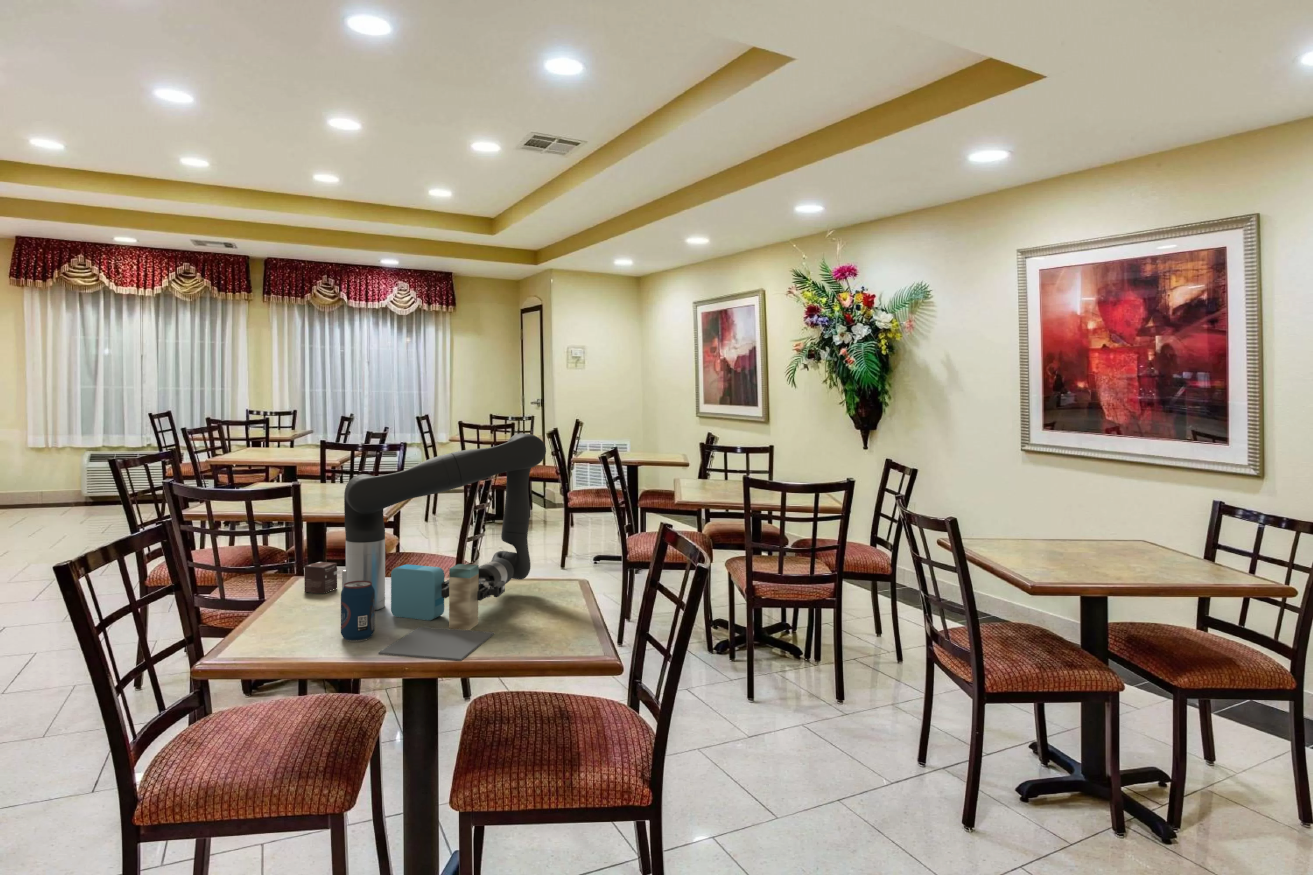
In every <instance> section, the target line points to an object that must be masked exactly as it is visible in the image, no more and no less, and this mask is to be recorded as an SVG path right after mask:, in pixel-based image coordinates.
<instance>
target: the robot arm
mask: <svg viewBox="0 0 1313 875" xmlns="http://www.w3.org/2000/svg"><path fill="white" fill-rule="evenodd" d="M545 444H546V443H545V442H544V441H543V440H542V438H540V437H539V436H538V435H537V436H536V435H534V434H532V433H521V432H520V433H515V434H514V435H512V436H511V437H510V438H509V439H508V440H507V442H504V443H502V444H499V445H494V446H491V447H484V448H483V447H482V448H473V449H472V448H471V449H465V450H458V451H453V452H449V453H446V454H442V455H438V456H434V457H431V458H428V459H427V460H424V461H422V462H419V463H417V464H415V465H413V466H411V467H408V468H406V469H404V470H401V471H397V472H393V473H388V474H383V475H377V476H374V475H371V474H365V473H362V474H357V475H356V476H354V477H352V478H351V479H350V480H349V481H348V482H347V483H346V484H345V488H344V495H343V496H344V497H343V498H344V504H343V505H344V506H343V507H344V508H343V509H344V512H343V513H344V532H345V569H344V570H342V571H341V590H342V589H343V587H344V584H345V583H347V582H351V581H370V582H372V586H373V588H374V590H375V611H378V610H381V609H383V608H385V605H386V601H385V600H386V527H385V520H384V509H386V508H389V507H392V506H394V505H396V504H399V503H402V502H404V501H407V500H410V499H415V498H420V497H425V496H431V495H435V494H439V493H442V492H447V491H448V492H449V491H452V490H454V489H457V488H461V487H465V486H467V485H470V484H474V483H476V482H479V481H483V480H486V479H487V478H491V477H493V476H496V475H499V474H503V473H506V482H505V484H506V487H505V503H504V510H503V511H504V512H503V518H502V526H501V533H500V534H501V535H500V538H501V540H502V542H504V543H506V544H509V545H511V546H512V547H513V548H514V549H515V551H514V552H513V551H507V550H500V551H496V552H495V553H494V554H493V555H492V556H493V557H492V559H491V561H489V562H486V563H483V564H482V565H480V566H479V584H478V592H477V600H478V602H479V601H483V600H484V599H486V598H487V599H488V598H490V597H491V598H492V596H493V597H494V598H499V597H500V596H502V595H503V594H504V593H505V592H506V584H508V583H509V582H510V581H511V580H512V579H513V580H519V581H520V580H524V579H526V577H528V576H529V574H530V573H531V572H530V571H531V566H532V564H531V558H530V552H529V543H528V542H529V541H528V533H529V526H530V517H531V516H530V515H531V514H530V513H531V511H530V510H531V508H530V506H531V505H530V498H529V494H530V493H529V482H530V481H529V480H530V473H531V469H532V468H534V467H536V466H538V465H540V464H541V463H542V461H544V459H545V457H546V453H547V449H546V445H545ZM441 596H442V598H444V599H447V598H449V579H448V580H446V581H445V580H444V582H443V583H442V590H441Z"/></svg>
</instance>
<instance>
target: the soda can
mask: <svg viewBox="0 0 1313 875" xmlns="http://www.w3.org/2000/svg"><path fill="white" fill-rule="evenodd" d="M375 611H376V610H375V590H374V588H373V586H372V582H370V581H351V582H347V583H345V584H344V587H343V589H342V588H341V591H340V634H341V637H343V638H342V639H344V641H346V642H362V641H367V640H370V639H371V638H372V636H373V634H374V633H375V632H376V631H375V627H376V624H375V621H376V620H375V618H376V617H375V616H376V614H375V613H376V612H375ZM366 639H367V640H366Z"/></svg>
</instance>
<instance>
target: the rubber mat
mask: <svg viewBox="0 0 1313 875" xmlns="http://www.w3.org/2000/svg"><path fill="white" fill-rule="evenodd" d="M494 635H495V632H494V631H480V630H460V629H449V628H441V627H439V628H438V627H430V626H429V627H428V626H427V627H425V626H419V627H417V628H415V629H413V630H412V631H410V632H408V633H407V634H406V635H404V636H403V637H401V638H399V639H398V640H396V641H395V642H393V643H391V644H390V645H387V647H385V648H383V649H381V650H380V651H379V652H378V655H383V654H389V655H388V656H396V655H398V657H408V658H409V657H410V658H422V659H436V660H446V661H461V662H462V661H463V660H464V659H466V657H467V656H469V655H470V654H472V652H474V651H475V650H477V649H478V648H479V647H481V645H482V644H484V643H485V642H486V641H488V640H489V639H490V638H491V637H492V636H494Z"/></svg>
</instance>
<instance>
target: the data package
mask: <svg viewBox="0 0 1313 875" xmlns="http://www.w3.org/2000/svg"><path fill="white" fill-rule="evenodd" d="M443 582H445V571H444V570H443V569H442V567H439V566H431V565H430V566H428V565H421V564H420V565H419V564H410V563H409V564H403V565H399V566H397V567H395V568H394V567H393V569H392V570H391V573H390V612H391V614H392V616H394V617H395V616H396V617H397V618H403V619H411V618H412V620H421V621H432V620H434V619H437V618H438V617H441V616H442V615H443V614H444V613H445V598H442V596H441V590H442V583H443ZM396 617H395V618H396Z"/></svg>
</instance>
